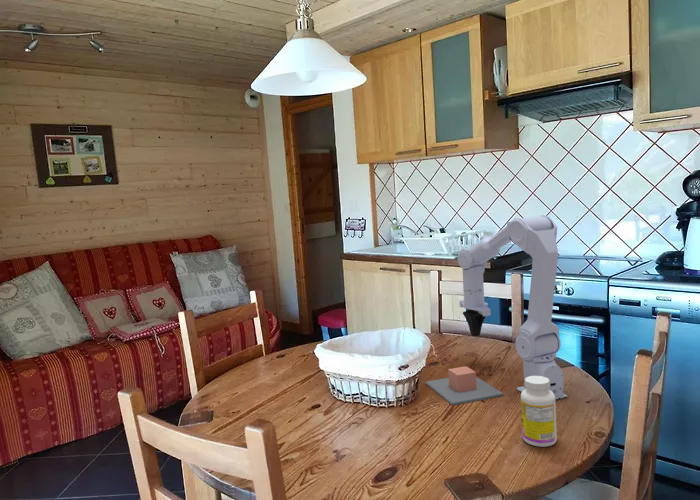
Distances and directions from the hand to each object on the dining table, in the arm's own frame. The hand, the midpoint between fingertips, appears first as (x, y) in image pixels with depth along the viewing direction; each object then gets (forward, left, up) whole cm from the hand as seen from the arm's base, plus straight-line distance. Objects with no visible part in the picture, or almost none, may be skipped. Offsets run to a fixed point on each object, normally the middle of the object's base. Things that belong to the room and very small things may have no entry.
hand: (475, 335), depth 150 cm
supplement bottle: (-45, +11, -10) cm, 47 cm away
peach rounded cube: (-14, +12, -9) cm, 20 cm away
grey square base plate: (-14, +12, -9) cm, 21 cm away
